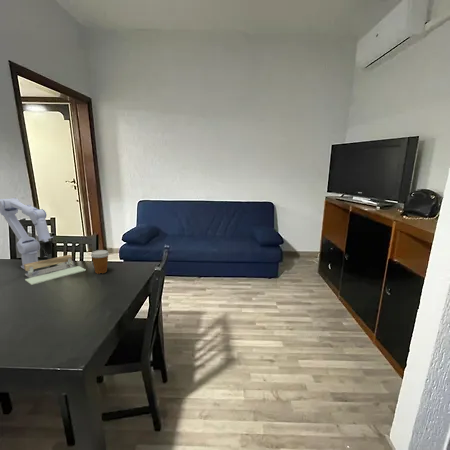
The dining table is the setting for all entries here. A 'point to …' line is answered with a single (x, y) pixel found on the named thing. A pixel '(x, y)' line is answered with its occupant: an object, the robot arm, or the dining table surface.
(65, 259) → the rail
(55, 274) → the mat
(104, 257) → the disposable coffee cup
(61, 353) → the dining table surface
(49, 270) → the rack
